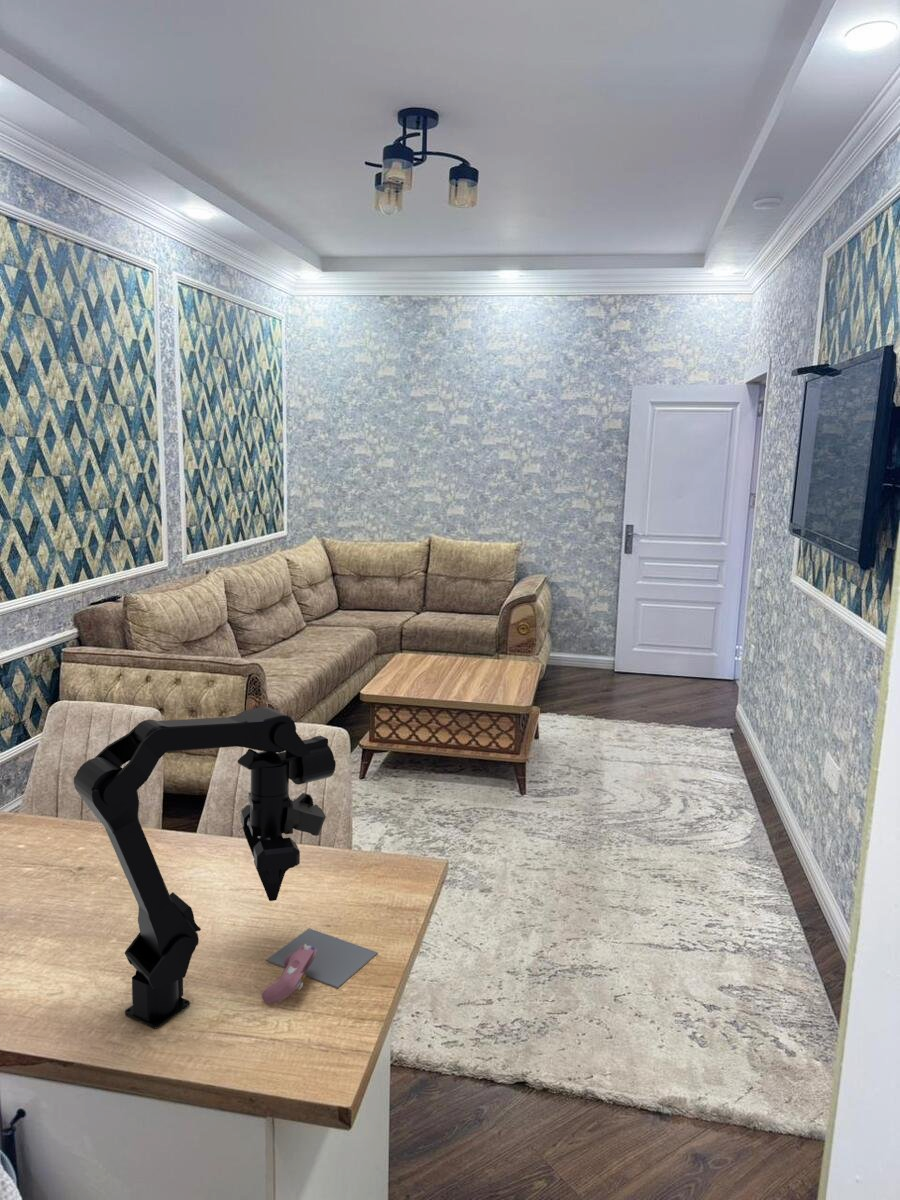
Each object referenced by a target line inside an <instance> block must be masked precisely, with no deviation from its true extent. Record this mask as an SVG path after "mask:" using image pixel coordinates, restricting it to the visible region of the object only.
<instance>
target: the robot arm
mask: <svg viewBox="0 0 900 1200" xmlns="http://www.w3.org/2000/svg"><path fill="white" fill-rule="evenodd" d="M232 747H233V748H236V747H238V748H239V747H240V748H247V751H246V752H245V753H244V754H243V755H241V756H240V757H239V758H238V760H237V764H238V765H240V766H242V767H244V768H245V769H248V770H250V792H248V801H249V804H247V805H245V806H244V807H243V808H242V810H241V811H240V822H241V825H242V830H243V834H244V836H245V839H246V841H247V843H248V847H249V849H250V852H251V854H252V856H253V863H254V867H255V869H256V871H257V873H258V877H259V879H260V881H261V884H262V886H263V888H264V891H265V894H266V896H267V898H268V901H269V902H274V901H277V899H278V897H279V894H280V893H279V892H280V890H281V887H282V883H283V880H284V877H285V874H286V873H287V871H288V870H289V869H292V868H295V867H297V866H299V865H300V862H301V861H300V860H301V858H300V857H301V856H300V855H301V851H300V849H299V847H298V844H297V843H296V841H294V840H293V839H292V838H291V837H283V835H292V834H293V833H294V830H297V831H300V832H305V833H306V834H307V833H308V834H311V836H315V837H318V836H319V835H320V833H321V831H322V828H323V825H324V822H325V820H326V817H327V816H326V815H325V812H324V811H323V809H322V808H321V807H319V805H318V804H314V800H313V797H312V795H311V794H308V793H304V792H302V793H301V794H300V795H299V796H298V797H297V798H296V799H295V798H294V799H293V800H292V799H291V798H290V795H289V794H290V792H289V789H290V788H289V786H290V780H291V781H292V783H294V784H295V785H303V784H307V783H311V782H315V781H319V780H320V781H321V780H323V779H324V780H325V779H327V778H331V777H333V775H334V773H335V770H336V764H337V763H336V759H335V756H334V754H333V750H332V749H331V747H330V746H329V739H328V738H327V737H325V736H322V735H317V736H316V735H315V736H314V737H311V738H308V739H303V740H302V738H301V737H300V735H299V734H298V732H297V725H296V722H295V721H294V719H293V718H292V717H291V716H289V715H288V714H285V713H282V712H280V711H278V710H275V709H273V708H271V707H268V706H260V707H255V708H250V709H247V710H243V711H241V712H240V713H237V714H236V715H233V716H227V717H211V718H209V717H207V718H187V719H167V720H156V719H155V720H154V719H149V718H148V719H146V720H143V721H141V722H139V723H137V724H136V725H135V727H133V728H132V729H131V731H129V732H127V734H125V735H123V736H121V737H120V738H118V739H116V740H115V741H113V742H111V743H109V744H108V745H107V746H105V747H104V748H103V749H102V750H101V751H100V752H98V754H97V755H96V756H95V757H94V758H90V759H88V760H87V761H86V762H84V763H83V764H82V765H81V766H80V767H79V768H78V770H77V771H76V774H75V775H74V778H73V785H74V789H75V791H76V792H77V793H78V795H79V796H80V798H81V800H83V802H84V803H85V805H86V806H87V807H88V808H89V810H90V811H91V812H92V813H93V815H94V816H95V817H96V818H97V819H98V820H99V822H100V823H101V825H103V827H104V830H105V831H106V833H107V836H108V838H109V841H110V843H111V846H112V848H113V850H114V852H115V854H116V857H117V859H118V862H119V864H120V866H121V869H122V870H123V873H124V876H125V877H126V880H127V882H128V884H129V887H130V888H131V891H132V893H133V896H134V898H135V900H136V903H137V905H138V913H137V914H138V916H137V924H138V928H139V933H137V936H135V938H134V939H133V940H132V942H131V943H130V944H129V946H128V947H127V948H126V950H125V951H124V955H125V958H126V959H127V961H128V964H129V965H132V967H133V968H134V969H135V970H136V971H135V975H133V976H131V994H132V995H131V997H132V998H131V999H132V1005H131V1006H129V1007H128V1008H126V1009H125V1011H124V1014H125V1016H127V1017H129V1018H131V1019H134V1020H136V1021H137V1022H140V1023H142V1024H145V1025H147V1026H149V1027H151V1028H153V1029H158V1028H160V1027H161V1026H163V1025H164V1024H166V1023H167V1022H169V1021H170V1020H171V1019H173V1018H174V1017H175V1016H177V1015H178V1014H179V1013H181V1012H182V1011H184V1010H185V1009H187V1008H188V1007H189V1006H190V1004H191V1001H190V1000H188V999H186V998H184V997H183V996H184V978H185V977H186V975H187V973H188V969H189V966H190V963H191V960H192V957H193V954H194V952H195V951H196V948H197V946H198V945H199V943H200V942H199V941H200V939H199V934H198V932H200V931H201V927H200V926H198V925H197V922H196V919H195V916H194V912H193V911H194V910H193V909H192V907H191V906H190V905H189V904H188V903H186V902H185V901H184V900H183V899H182V898H181V897H180V896H178V894H176V893H175V892H173V891H172V892H171V893H170V892H169V890H168V888H167V886H166V883H165V880H164V877H163V875H162V873H161V871H160V868H159V866H158V864H157V861H156V859H155V856H154V854H153V851H152V848H151V846H150V844H149V842H148V839H147V837H146V834H145V832H144V830H143V827H142V825H141V823H140V820H139V812H140V811H139V810H140V798H139V794H138V790H139V789H140V788H141V787H142V786H143V785H144V784H145V783H146V782H147V781H148V779H150V776H151V775H152V773H153V771H154V769H155V767H156V766H157V764H158V762H159V760H160V759H161V758H162V757H163V756H164V755H165V754H166V753H170V752H180V751H196V750H207V749H208V750H209V749H220V748H232ZM257 751H259V752H257ZM126 763H127V764H126ZM125 764H126V765H125ZM123 765H125V766H123ZM122 766H123V767H122Z"/></svg>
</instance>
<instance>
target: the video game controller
mask: <svg viewBox="0 0 900 1200" xmlns="http://www.w3.org/2000/svg"><path fill="white" fill-rule="evenodd" d="M317 951H318V950H317V949H316V948H314V947H312V946H308V945H306V944H305V945H302V946H301V947H300V948H299V949H298V950H297V951H295V952H293V953H291V954H290V955H288V956H287V957H286V959H285V960H284V966H285V968H284V970H283V973H282V975H281V976H280V977H279V979H277V980H276V981H275V982H273V983H272V984H271V985H269V986H267V987H266V988H265V989H264V990H263V991H262V994H261V999H262V1001H263V1002H264V1003H266V1004H276V1003H279V1002H281V1001H282V1000H284V999H286V998H288V997H291V996H292V995H293V993H294V991H296V990H297V989H298V991H300V990H301V989H302V988H303V986H304V982H303V981H302V980H305V978H306V975H305V972H306V970H307V969H308V967H309V966H310V965H311V964H312V962H313V961H314V959H315V956H316V954H317Z"/></svg>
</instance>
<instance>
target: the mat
mask: <svg viewBox="0 0 900 1200" xmlns="http://www.w3.org/2000/svg"><path fill="white" fill-rule="evenodd" d="M305 944H306V945H308V946H312V947H314V948H316V949H317V950H318V951H317V954H316V956H315V959H314V961H313V962H312V964H311V965H310V966H309V967H308V969H307V970H306V972H305V975H306V977H307V978H309V979H312V980H315V981H317V982H320V983H322V984H325V985H327V986H331V987H333V988H336V989H339V988H341V986H343V985H344V984H345V983H346V982H348V980H349V979H351V978H352V977H353V976H354V975H355V974H357V972H358V971H360V970H361V969H362V968H363V967H364V966H366V964H368V963H369V962H370V961H371V960H372V959H374V958H375V957H376V956H377V955H378V954H379V952H378V951H375V950H372V949H369V948H367V947H363V946H360V945H358V944H355V943H352V942H349V941H347V940H343V939H341V938H338V937H335V936H333V935H329V934H327V933H323V932H321V931H318V930H315V929H313V928H310V927H309V928H307V929H306V930H304V931H303V932H302V933H301V934H299V935H298V936H297V937H295V938H294V939H292V940H291V941H289V942H288V943H287V944H285V945H284V946H282V947H281V948H280V949H279V950H278V951H276V952H274V953H273V954H272V955H270V956H269V957H268V958H267V959H265V962H268V963H271V964H273V965H275V966H278V967H280V968H282V969H286V968H285V966H284V960H285V959H286V957H287V956H288V955H290V954H291V953H293V952H295V951H297V950H298V949H299V948H300V947H301V946H302V945H305ZM306 977H305V978H306Z"/></svg>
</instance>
